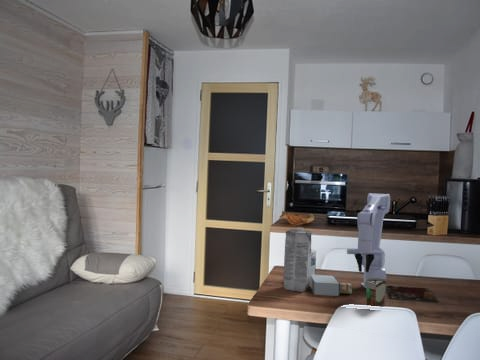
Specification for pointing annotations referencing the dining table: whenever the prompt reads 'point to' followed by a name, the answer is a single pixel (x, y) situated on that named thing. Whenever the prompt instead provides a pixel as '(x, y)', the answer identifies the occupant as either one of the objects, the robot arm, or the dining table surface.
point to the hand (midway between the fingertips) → (363, 271)
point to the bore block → (325, 285)
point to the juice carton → (297, 260)
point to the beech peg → (345, 288)
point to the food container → (375, 291)
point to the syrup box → (313, 263)
